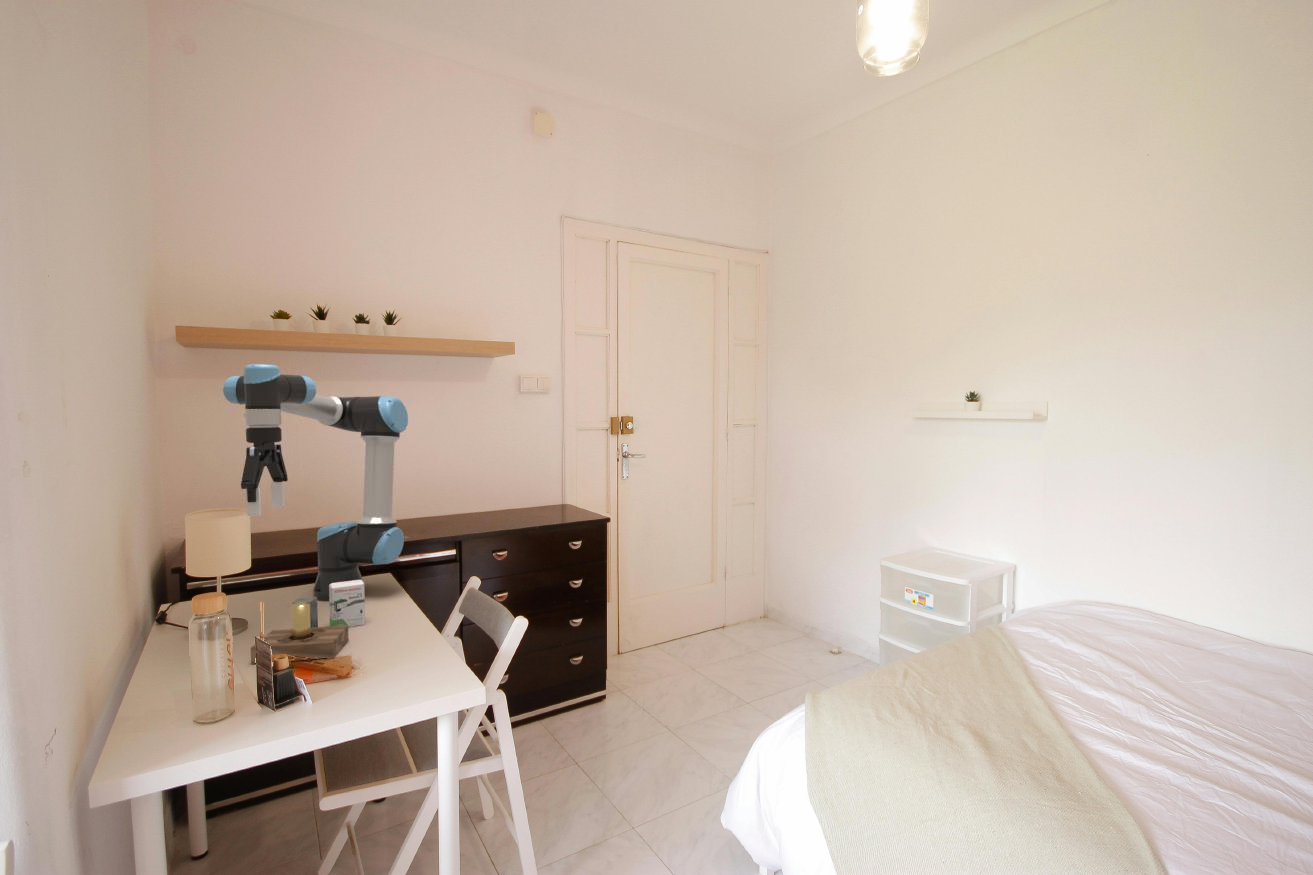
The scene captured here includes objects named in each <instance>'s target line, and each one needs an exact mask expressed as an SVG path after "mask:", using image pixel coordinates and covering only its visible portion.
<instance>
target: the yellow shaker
mask: <svg viewBox="0 0 1313 875" xmlns="http://www.w3.org/2000/svg"><path fill="white" fill-rule="evenodd" d="M290 608H291V609H290V610H291V629H292V638H293V640H303V639H306V638H310V637H311V620H310V602H298V603H295V604H292V603H291V607H290Z"/></svg>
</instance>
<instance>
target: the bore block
mask: <svg viewBox="0 0 1313 875" xmlns="http://www.w3.org/2000/svg"><path fill="white" fill-rule="evenodd" d="M262 638H264V639H265V640H266V642H267V643H269V644H270V646H271V649H272V654H273V655H276V654H287V655H291V656H301V657H308V658H316V657H317V658H327V659H326V660H330V659H331V660H332V659H333V660H334V658H335V657H336V656H337V654H338V653H339V652H340V651H341V650H342V649H343V647H345V645H346V644H347V643H348V642H349V641H350V640H349V638H350V637H349V627H348V625H346V626H330V625H329V626H318V627H314V628H311V637H310V638H306V639H303V640H293V638H292V628H286V629H284V628H283V629H273V630H271V631H270V632H269V633H267V634H266V635H264V636H263V637H262ZM255 658H256V646H255V644H254V645H252V646H250V664H251V665H256V664H255Z"/></svg>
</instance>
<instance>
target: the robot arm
mask: <svg viewBox="0 0 1313 875" xmlns="http://www.w3.org/2000/svg"><path fill="white" fill-rule="evenodd" d="M243 370H244V371H243V374H241V375H235V376H234V375H233V376H230V377H228V378H227V379H226V380H225V381H224V383H223V388H222V393H223V396H224V398H225V399H226V400H227V401H228V402H229V403H232V404H237V405H244V409H245V410H244V411H245V412H244V413H243V417H244V418H245V425H246V426H248V427H247V428H245V438H246V440H245V441H246V442H247V444H248V443H249V444H253V447H252V446H251V447H250V446H249V447H246V451H245V456H246V457H245V460H244V461H245V462H244V467H243V470H242V471H243V472H242V477H241V482H240V488H241V490H245V491H246V494H245V495H246V515H247V517H257V516H258V517H259V516H262V507H261V505H262V503H261V502H262V501H261V488H260V487H259V484H260V481H261V479H262V475H263V472H264V469H265V467H266V469H267V470H268V473H269V475H270V477H271V480H272V481H271V483H270V489H271V508H284V507H285V490H284V489H285V486H284V482H288V481H289V480H288V479H289V478H288V474H287V472H288V471H287V469H286V466H285V464H286V463H285V461H284V458H283V454H282V445H281V444H275V443H280V442H282V440H283V439H282V436H283V435H282V428H281V427H280V426H281V425H282V412H283V413H287V414H291V415H295V416H300V417H304V418H308V419H313V420H316V421H318V422H319V423H320V424H321V425H324V426H329V427H331V428H336V429H339V430H343V431H346V432H347V431H348V432H354V433H360V438H361V439H362V440H363V442H365V455H364V478H363V479H364V480H363V501H362V502H363V505H362V506H363V510H362V517H361V518H360V519H359V520H358V521H354V520H353V521H344V522H338V523H334V524H329V525H325V526H322V527H320V528H319V529H318V530H317V534H316V535H317V537H316V538H317V540H316V543H317V545H316V546H317V548H316V549H317V568H318V569H317V571H318V572H317V573H318V574H317V576H316V579H315V582H314V586H313V589H312V597H317V601H326V602H327V601H329V585H330V584H331V583H337V582H345V581H354V580H362V581H363V582H364V579H363V576H362V575H361V574H362V573H361V571H360V569H359V564H367V565H368V564H369V565H375V566H376V565H389V564H391V563H393V562H395V561H396V560H397V559H398V558H399V556H400V555H401V553H402V551H403V548H404V544H405V543H404V542H405V537H404V533H403V530H402V529H401V528H399V527H397V522H398V521H397V520H396V519H395V518H394V516H393V499H394V498H393V491H394V490H393V489H394V470H395V469H394V466H395V464H394V463H395V462H394V460H395V443H396V442H397V441H398V440H400V436H401V433H403V432H404V431H405V430H406V429H407V426H408V424H409V414H408V411H407V408H406V405H404V403H403V401H402V400H400V398H398V397H395V396H386V395H382V396H380V395H379V396H377V395H376V396H347V397H345V396H343V397H342V396H335V395H326V396H324V395H321V394H317V385H316V383H315V381H314V380H313V379H312V378H311V377H308V376H306V375H305V376H304V375H301V374H282V373H281V372H280V367H279V366H277V365H274V364H259V363H257V364H252V363H251V364H248V365H245V366H244V369H243ZM364 592H366V588H365V583H364Z"/></svg>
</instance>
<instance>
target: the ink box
mask: <svg viewBox="0 0 1313 875" xmlns="http://www.w3.org/2000/svg"><path fill="white" fill-rule="evenodd" d="M364 584H365V582H364V580H363V581H362V580H354V581H345V582H337V583H331V584H330V585H329V627H330V626H346V625H348V628H351V627H357V626H364V625H365V624H366V605H365V598H366V597H365V591H364Z"/></svg>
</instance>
